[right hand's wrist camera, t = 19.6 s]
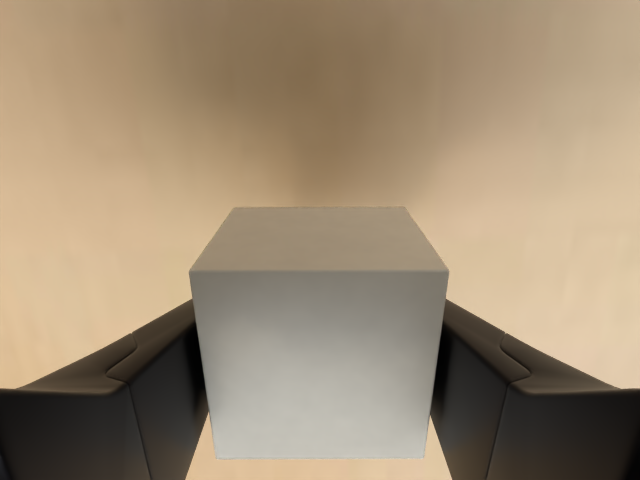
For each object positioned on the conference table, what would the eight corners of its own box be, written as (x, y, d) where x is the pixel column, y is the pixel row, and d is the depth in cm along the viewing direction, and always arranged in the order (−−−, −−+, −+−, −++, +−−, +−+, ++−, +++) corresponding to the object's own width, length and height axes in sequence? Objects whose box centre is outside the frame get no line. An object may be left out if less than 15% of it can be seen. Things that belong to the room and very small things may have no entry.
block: (393, 348, 13) (424, 459, 9) (246, 349, 13) (215, 460, 9) (405, 206, 11) (450, 270, 7) (233, 206, 11) (187, 270, 7)
